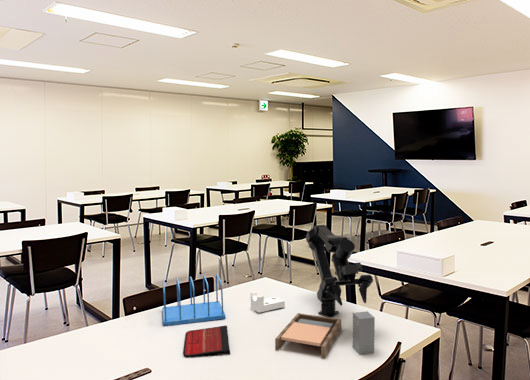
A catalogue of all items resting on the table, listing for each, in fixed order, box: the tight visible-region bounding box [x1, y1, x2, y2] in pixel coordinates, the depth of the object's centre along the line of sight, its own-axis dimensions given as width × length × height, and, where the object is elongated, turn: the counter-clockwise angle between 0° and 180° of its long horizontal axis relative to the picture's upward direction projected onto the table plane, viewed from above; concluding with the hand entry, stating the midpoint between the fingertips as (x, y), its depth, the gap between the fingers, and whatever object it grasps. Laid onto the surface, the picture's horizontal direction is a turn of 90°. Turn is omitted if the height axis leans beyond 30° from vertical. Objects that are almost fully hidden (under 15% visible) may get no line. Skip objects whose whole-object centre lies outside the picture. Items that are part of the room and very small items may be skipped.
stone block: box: [352, 310, 376, 356], centre depth 149 cm, size 6×6×12 cm
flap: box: [281, 319, 333, 347], centre depth 157 cm, size 20×14×4 cm
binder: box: [182, 325, 231, 358], centre depth 156 cm, size 16×2×21 cm
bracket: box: [250, 291, 286, 314], centre depth 189 cm, size 13×7×8 cm, turn 119°
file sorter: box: [161, 273, 227, 326], centre depth 182 cm, size 25×17×15 cm
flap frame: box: [274, 312, 342, 359], centre depth 158 cm, size 25×18×4 cm
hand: (353, 304), depth 156 cm, fingers open, 9 cm apart
